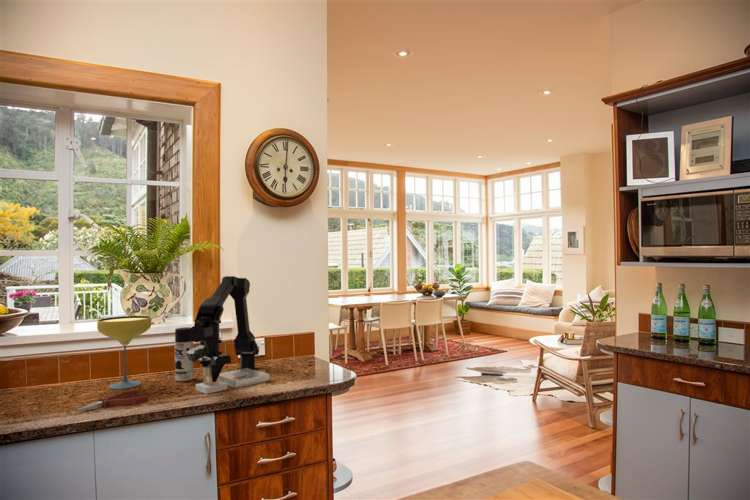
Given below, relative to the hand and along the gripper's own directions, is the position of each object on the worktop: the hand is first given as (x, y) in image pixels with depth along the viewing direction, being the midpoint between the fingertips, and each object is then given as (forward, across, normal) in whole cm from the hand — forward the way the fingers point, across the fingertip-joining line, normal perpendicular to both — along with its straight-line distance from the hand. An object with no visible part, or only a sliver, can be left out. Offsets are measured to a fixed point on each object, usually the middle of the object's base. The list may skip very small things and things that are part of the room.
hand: (211, 381), depth 172 cm
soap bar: (+3, 0, 0) cm, 3 cm away
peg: (+1, 0, 0) cm, 1 cm away
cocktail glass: (+3, -30, -19) cm, 36 cm away
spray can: (+3, -22, 0) cm, 22 cm away
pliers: (+4, -9, -30) cm, 31 cm away
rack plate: (+3, -3, +14) cm, 15 cm away
